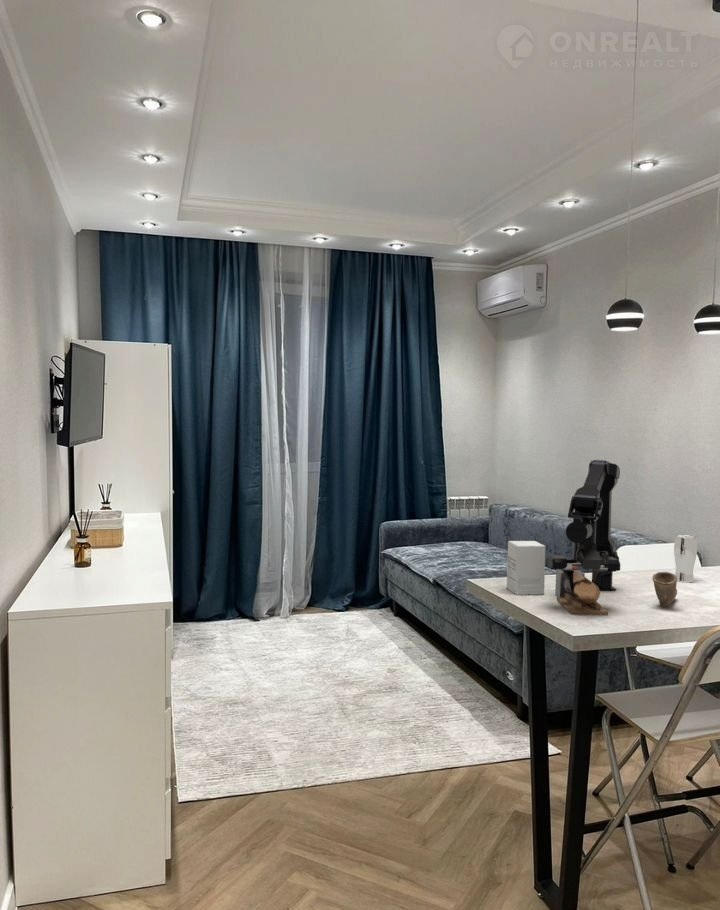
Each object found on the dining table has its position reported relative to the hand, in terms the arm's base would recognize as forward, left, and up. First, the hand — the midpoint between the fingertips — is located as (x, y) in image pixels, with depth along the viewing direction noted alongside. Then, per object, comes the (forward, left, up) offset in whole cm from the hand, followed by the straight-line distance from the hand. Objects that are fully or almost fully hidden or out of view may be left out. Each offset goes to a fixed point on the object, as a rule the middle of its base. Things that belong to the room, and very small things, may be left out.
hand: (582, 593), depth 195 cm
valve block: (-12, 0, -4) cm, 13 cm away
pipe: (-7, +27, -4) cm, 28 cm away
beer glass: (-38, +46, -4) cm, 60 cm away
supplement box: (-17, -12, -4) cm, 22 cm away
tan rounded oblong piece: (0, 0, -1) cm, 1 cm away
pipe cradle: (0, 0, -4) cm, 4 cm away
